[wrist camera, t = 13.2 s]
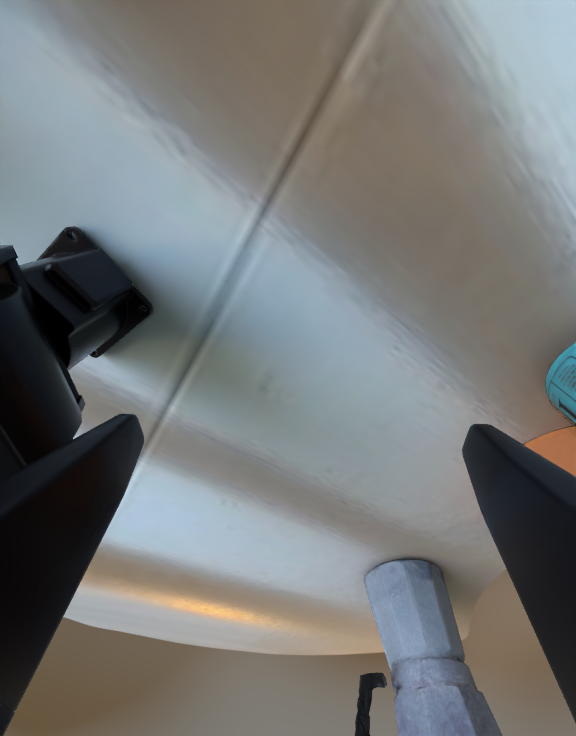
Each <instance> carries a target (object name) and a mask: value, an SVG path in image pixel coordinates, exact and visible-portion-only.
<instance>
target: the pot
mask: <svg viewBox="0 0 576 736" xmlns="http://www.w3.org/2000/svg"><path fill="white" fill-rule="evenodd" d="M523 445H525V446H526V447H528V448H530V449H531V450H533V451H534V452H536V453H538V454H539V455H541V456H543V457H544V458H546V459H548V460H549V461H551V462H553V463H554V464H556V465H557V466H559V467H561V468H562V469H564V470H566V471H567V472H569V473H571V474H572V475H574V476H576V426H573V427H568V428H564V429H560V430H556V431H553V432H550V433H547V434H544V435H542V436H540V437H537V438H535V439H533V440H531V441H529V442H527V443H525V444H523Z"/></svg>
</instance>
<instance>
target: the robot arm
mask: <svg viewBox="0 0 576 736" xmlns="http://www.w3.org/2000/svg"><path fill="white" fill-rule="evenodd" d="M72 232H73V233H74V234H75V235H76V239H74V238H73V236H72ZM16 258H18V256H17V254H16V252H15V250H14V248H13V245H0V736H4V734H5V732H6V730H7V728H8V725H9V723H10V722H11V720H12V718H13V715H14V711H15V710H16V709H17V707H18V705H19V703H20V701H21V699H22V697H23V695H24V693H25V691H26V689H27V687H28V685H29V683H30V681H31V679H32V677H33V675H34V673H35V671H36V669H37V667H38V665H39V663H40V661H41V659H42V657H43V655H44V653H45V651H46V649H47V648H48V646H49V644H50V642H51V640H52V637H53V635H54V633H55V632H56V629H57V628H58V626H59V624H60V622H61V619H62V618H63V616H64V614H65V612H66V610H67V608H68V606H69V604H70V602H71V600H72V598H73V596H74V594H75V592H76V590H77V588H78V586H79V584H80V582H81V580H82V578H83V576H84V574H85V572H86V570H87V568H88V566H89V564H90V562H91V560H92V558H93V556H94V554H95V552H96V550H97V548H98V546H99V544H100V542H101V540H102V538H103V536H104V534H105V532H106V530H107V528H108V526H109V524H110V522H111V520H112V518H113V516H114V514H115V512H116V510H117V508H118V506H119V504H120V502H121V500H122V498H123V496H124V494H125V491H126V489H127V487H128V484H129V481H130V479H131V476H132V473H133V471H134V468H135V466H136V463H137V460H138V458H139V455H140V452H141V450H142V447H143V444H144V435H143V432H142V429H141V426H140V423H139V420H138V418H137V416H136V415H134V414H119V415H117V416H115V417H113V418H112V419H110V420H108V421H106V422H104V423H102V424H101V425H99V426H97V427H95V428H93V429H91V430H90V431H88V432H86V433H84V434H82V435H81V436H79V437H77V438H75V439H73V437H74V436H75V434H76V432H77V430H78V428H79V426H80V425H81V423H82V417H81V412H82V410H83V408H84V406H85V402H84V400H83V398H82V396H81V395H79V394H78V392H77V390H76V387H75V385H74V383H73V381H72V379H71V377H70V375H69V372H68V370H70V369H71V368H72V367H74V366H75V365H76V364H78V363H79V362H80V361H82V360H83V359H84V358H85V357H87V356H88V355H90V356H92V357H94V358H97V357H99V356H101V355H102V354H103V353H104V352H106V351H107V350H108V349H109V348H110V347H112V346H113V345H114V344H115V343H116V342H118V341H119V340H120V339H121V338H123V337H124V336H125V335H126V334H127V333H129V332H130V331H131V330H132V329H133V328H135V327H136V326H137V325H138V324H139V323H141V322H142V321H143V320H144V319H146V318H147V317H148V316H149V315H150V314H152V312H153V306H152V305H151V303H150V302H149V301H148V300H147V299H146V298H145V297H144V296H143V295H142V294H141V293H140V292H139V291H138V290H137V289H136V288H135V286H134V285H133V284H132V282H131V280H130V279H129V278H128V277H127V276H126V275H125V274H124V273H123V272H122V271H121V270H120V269H119V268H118V267H117V266H116V265H115V264H114V262H113V261H112V260H111V259H110V258H109V257H108V256H107V255H106V254H105V253H104V252H103V251H102V250H99V249H98V247H97V246H96V245H95V244H94V243H93V242H92V241H91V240H90V239H89V238H88V237H87V236H86V235H85V234H84V233H83V232H82V231H81V230H80V229H79V228H77V227H75V226H73V227H67V228H65V229H64V230H63V231H62V232H61V233H60V234H59V236H58V237H57V238H56V239H55V240H54V241H53V242H52V244H51V245H50V246H49V247H48V248H47V249H46V250H45V251H44V253H43V254H42V255H41V256H40V257H39V258H38V259H37V261H34V262H30V263H26V264H23V265H18V263H17V261H16ZM142 306H144V307H145V308H146V309H147V311H144V310H143V309H142ZM95 350H96V351H97V352H96V351H95ZM462 454H463V458H464V461H465V464H466V467H467V470H468V473H469V476H470V479H471V483H472V486H473V489H474V492H475V495H476V498H477V501H478V504H479V507H480V509H481V512H482V514H483V517H484V519H485V522H486V524H487V526H488V528H489V530H490V533H491V535H492V537H493V539H494V542H495V544H496V546H497V548H498V551H499V553H500V555H501V557H502V560H503V562H504V564H505V566H506V568H507V571H508V573H509V575H510V577H511V579H512V582H513V584H514V586H515V588H516V591H517V593H518V595H519V597H520V600H521V602H522V604H523V606H524V609H525V611H526V613H527V615H528V618H529V620H530V622H531V624H532V626H533V628H534V631H535V633H536V635H537V638H538V640H539V642H540V644H541V646H542V649H543V651H544V653H545V655H546V658H547V660H548V662H549V664H550V667H551V669H552V671H553V673H554V676H555V678H556V680H557V682H558V685H559V687H560V689H561V691H562V693H563V695H564V698H565V700H566V702H567V704H568V707H569V709H570V711H571V713H572V716H573V718H574V720H575V723H576V476H574V475H572V474H571V473H569V472H567V471H566V470H564V469H562V468H561V467H559V466H557V465H556V464H554V463H553V462H551V461H549V460H548V459H546V458H544V457H543V456H541V455H539V454H538V453H536V452H534V451H533V450H531V449H530V448H528V447H526V446H525V445H523V444H521V443H520V442H518V441H516V440H515V439H513V438H511V437H510V436H508V435H506V434H505V433H503V432H502V431H500V430H498V429H497V428H495V427H493V426H492V425H489V424H473V425H472V426H471V427H470V428H469V431H468V434H467V436H466V439H465V442H464V444H463V448H462Z"/></svg>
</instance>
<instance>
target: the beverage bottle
mask: <svg viewBox="0 0 576 736" xmlns="http://www.w3.org/2000/svg"><path fill="white" fill-rule="evenodd" d="M545 386H546V392H547V394H548V397H549V398H550V399H551V401H552V403H553V404H554V405H555V406H556V407H557V408H558V409H559V410H561V411H562V412H563V413H564V414H565V415H566V416H567V417H569V418H570V419H571V421H573V422H574V423H575V424H576V343H574V344H573V345H571V346H570V347H568V348H567V349H566V350H565V351H564V352H563V353H562V354H561V355H560V356H559V357H558V358H557V359H556V360H555V362H554V363H553V364H552V366H551V368H550V369H549V372H548V374H547V377H546V383H545ZM550 399H549V401H550ZM550 403H551V402H550ZM551 405H552V404H551ZM556 407H555V408H556ZM555 408H554V409H555ZM557 411H558V410H557ZM558 412H559V411H558ZM562 415H563V414H562ZM565 415H564V416H565ZM564 416H563V417H564ZM567 419H568V418H567ZM570 419H569V420H570ZM570 423H571V422H570ZM571 424H572V425H573V423H571ZM575 424H574V425H575ZM575 426H576V425H575Z"/></svg>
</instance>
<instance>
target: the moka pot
mask: <svg viewBox="0 0 576 736" xmlns="http://www.w3.org/2000/svg"><path fill="white" fill-rule="evenodd" d="M364 583H365V587H366V591H367V594H368V598H369V601H370V604H371V608H372V611H373V614H374V618H375V621H376V624H377V628H378V631H379V634H380V637H381V641H382V644H383V647H384V651H385V654H386V657H387V661H388V664H389V667H390V668H391V679H392V685H393V690H394V692H395V699H394V701H395V708H396V716H397V726H398V733H399V736H502V733H501V731H500V729H499V727H498V725H497V723H496V720H495V718H494V716H493V714H492V712H491V710H490V708H489V706H488V703H487V701H486V699H485V697H484V695H483V693H481V692H480V691H478V690H477V688H476V685H475V682H474V680H473V677H472V674H471V672H470V669H469V667H468V666H467V665H466V664H465V663H464V657H465V655H464V651H463V646H462V642H461V639H460V635H459V631H458V628H457V624H456V620H455V617H454V613H453V609H452V605H451V602H450V599H449V595H448V591H447V587H446V583H445V580H444V576H443V573H442V571H441V570H440V569H439V568H438V567H437V566H435V565H434V564H432V563H429V562H427V561H423V560H410V559H405V560H396V561H391V562H388V563H384V564H382V565H380V566H378V567H376V568H374V569H373V570H372V571H370V572H369V573H368V574H367V575H365V577H364ZM386 685H387V682H386V677H385V676H384V674H383V673H368V674H364V675H361V676H360V688H359V698H358V702H357V708H358V712H357V716H356V721H355V724H356V725H355V726H356V731H355V736H370V734H369V730H370V716H369V711H370V706H371V701H372V690H373V689H374V688H376V687H383V688H385V686H386Z"/></svg>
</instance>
